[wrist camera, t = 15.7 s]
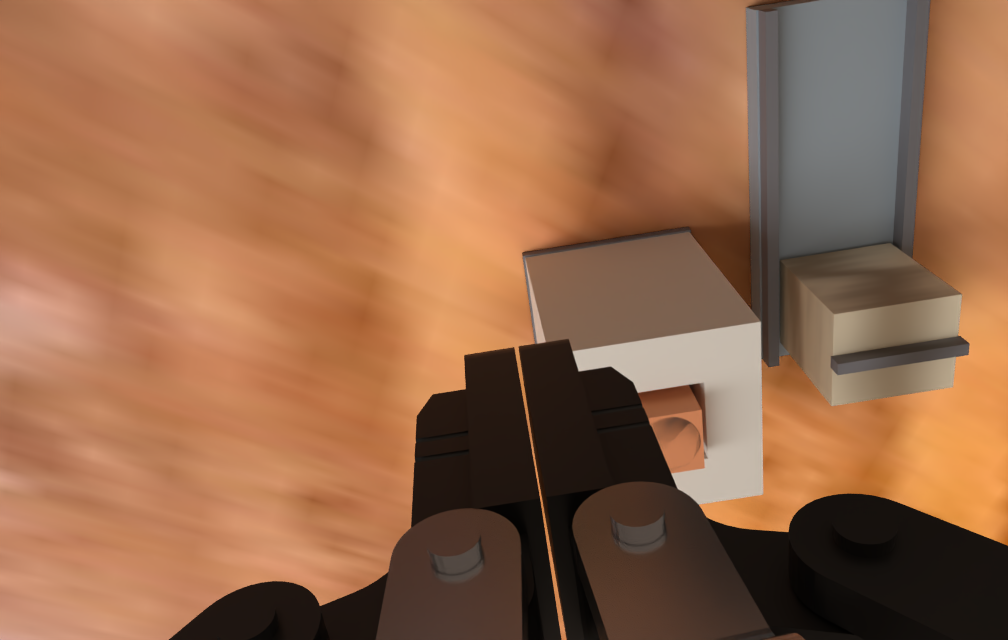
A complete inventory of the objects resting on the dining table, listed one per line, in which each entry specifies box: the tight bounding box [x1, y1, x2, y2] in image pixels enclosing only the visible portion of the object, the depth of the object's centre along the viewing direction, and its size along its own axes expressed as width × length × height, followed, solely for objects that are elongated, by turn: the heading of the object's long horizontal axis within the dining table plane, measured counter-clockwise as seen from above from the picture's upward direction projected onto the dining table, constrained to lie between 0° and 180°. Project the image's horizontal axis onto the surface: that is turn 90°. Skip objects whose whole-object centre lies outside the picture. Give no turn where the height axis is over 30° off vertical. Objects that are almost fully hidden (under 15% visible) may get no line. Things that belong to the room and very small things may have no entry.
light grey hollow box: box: [522, 227, 763, 505], centre depth 43 cm, size 9×9×12 cm
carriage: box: [780, 243, 969, 406], centre depth 43 cm, size 6×5×8 cm
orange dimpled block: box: [638, 385, 705, 473], centre depth 40 cm, size 3×3×9 cm
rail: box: [746, 0, 930, 367], centre depth 45 cm, size 8×19×2 cm, turn 8°
